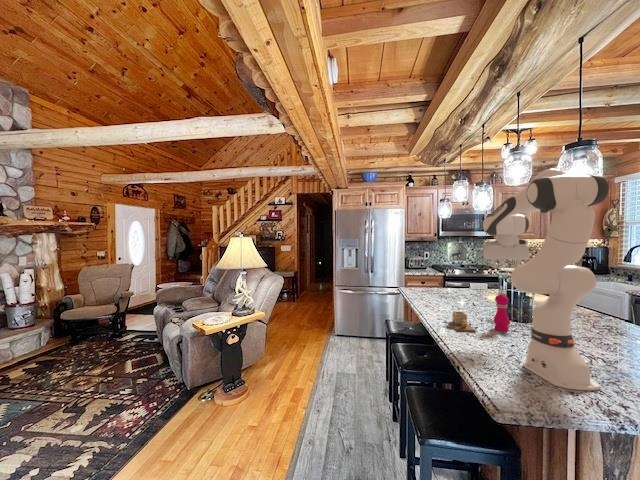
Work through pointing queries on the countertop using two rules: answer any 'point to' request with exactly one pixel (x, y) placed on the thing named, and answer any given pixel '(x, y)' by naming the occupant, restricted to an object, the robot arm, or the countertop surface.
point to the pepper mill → (501, 313)
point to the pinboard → (462, 327)
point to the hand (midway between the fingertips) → (505, 268)
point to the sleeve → (459, 317)
